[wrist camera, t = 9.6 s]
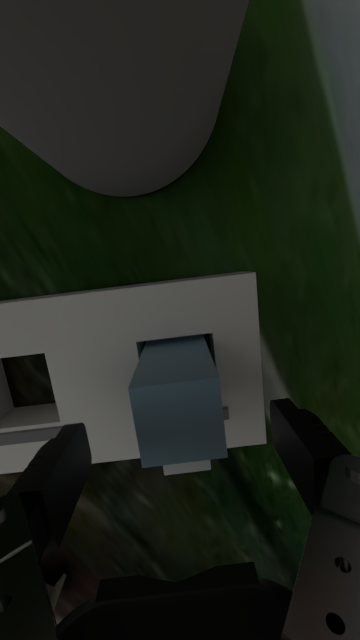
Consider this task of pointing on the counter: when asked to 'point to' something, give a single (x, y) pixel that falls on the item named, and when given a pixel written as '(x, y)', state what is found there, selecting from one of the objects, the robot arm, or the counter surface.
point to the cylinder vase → (116, 85)
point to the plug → (178, 405)
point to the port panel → (127, 359)
